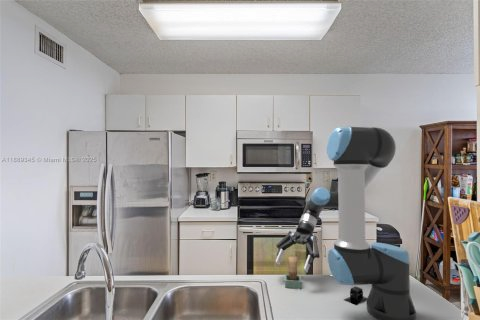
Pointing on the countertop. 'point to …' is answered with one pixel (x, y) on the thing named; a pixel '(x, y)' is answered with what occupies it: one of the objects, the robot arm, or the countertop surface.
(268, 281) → the countertop surface
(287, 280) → the cradle
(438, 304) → the countertop surface
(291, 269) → the block
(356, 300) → the black blocky piece
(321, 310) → the countertop surface
